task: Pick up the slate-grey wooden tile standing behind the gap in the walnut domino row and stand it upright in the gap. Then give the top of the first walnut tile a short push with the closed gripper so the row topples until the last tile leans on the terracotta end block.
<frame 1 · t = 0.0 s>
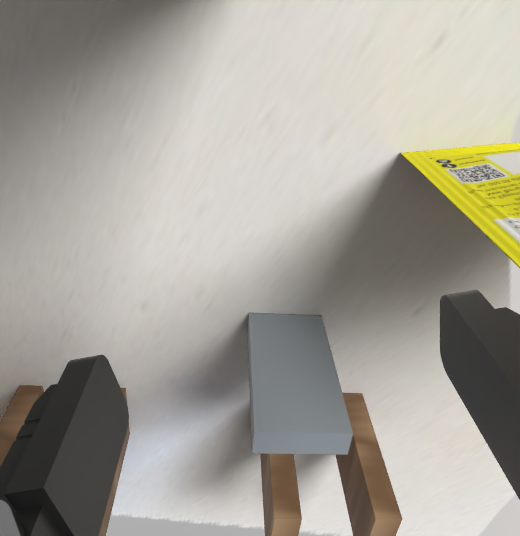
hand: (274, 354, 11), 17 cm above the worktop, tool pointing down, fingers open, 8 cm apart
domino 4: (117, 411, 36), on the worktop
domino 1: (346, 415, 37), on the worktop
domino 5: (36, 409, 35), on the worktop
domino 2: (272, 414, 37), on the worktop
domino 3: (284, 323, 32), on the worktop
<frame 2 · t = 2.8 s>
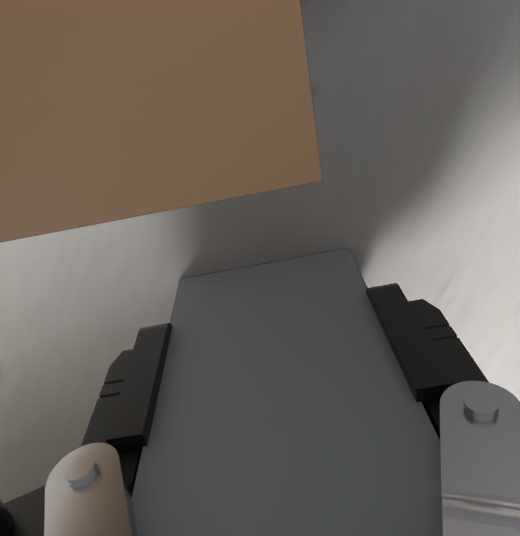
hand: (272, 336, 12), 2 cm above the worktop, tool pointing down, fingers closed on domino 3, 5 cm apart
domino 3: (268, 286, 14), on the worktop, touching gripper
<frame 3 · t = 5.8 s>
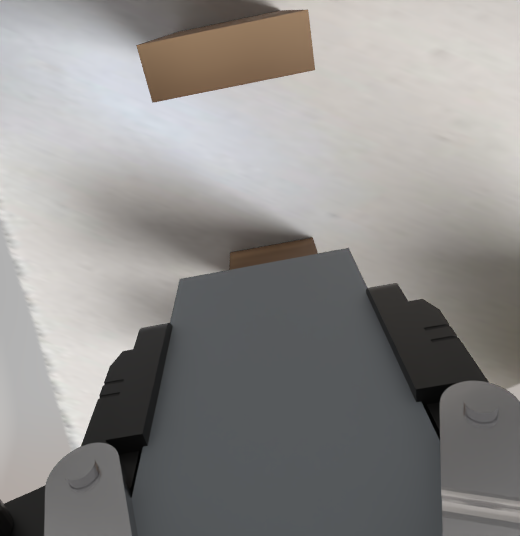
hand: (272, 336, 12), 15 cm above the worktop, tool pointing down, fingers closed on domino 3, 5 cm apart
domino 4: (232, 39, 22), on the worktop
domino 2: (273, 256, 28), on the worktop
domino 3: (268, 286, 14), point 13 cm above the worktop, touching gripper
when the fingers open (3 cm above the worktop, at t = 9.1 s): domino 3 stays where it is, on the worktop.
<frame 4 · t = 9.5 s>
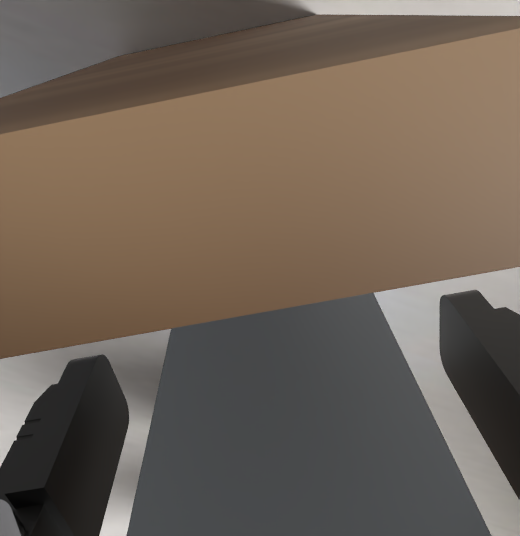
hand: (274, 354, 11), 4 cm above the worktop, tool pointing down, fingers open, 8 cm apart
domino 4: (223, 69, 12), on the worktop
domino 3: (268, 270, 15), on the worktop
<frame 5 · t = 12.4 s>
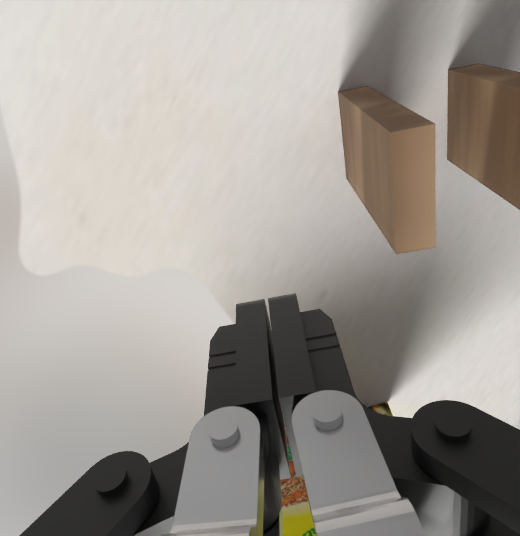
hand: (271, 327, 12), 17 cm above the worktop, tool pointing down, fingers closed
food package: (294, 425, 38), on the worktop
domino 1: (356, 134, 27), on the worktop
domino 2: (461, 113, 26), on the worktop
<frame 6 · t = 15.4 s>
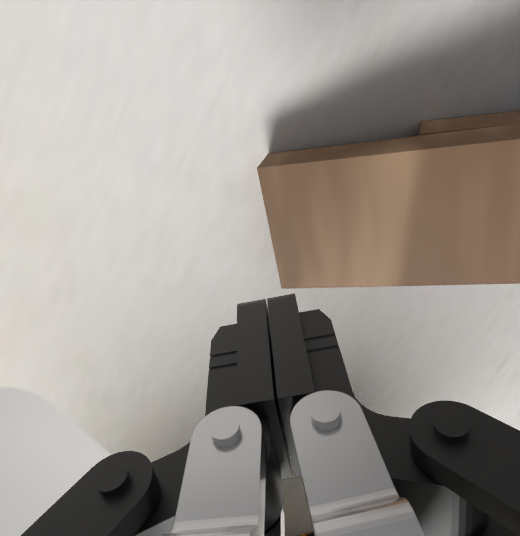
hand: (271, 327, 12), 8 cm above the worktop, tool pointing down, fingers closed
domino 1: (275, 223, 18), point 1 cm above the worktop, tilted 72°, touching domino 2
domino 2: (421, 193, 18), point 1 cm above the worktop, tilted 70°, touching domino 1, domino 3
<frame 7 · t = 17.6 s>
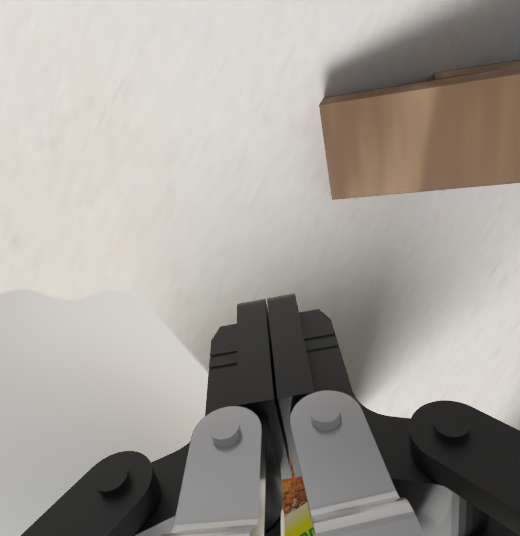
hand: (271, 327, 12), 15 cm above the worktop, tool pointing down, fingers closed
food package: (254, 445, 37), on the worktop
domino 1: (328, 149, 25), point 1 cm above the worktop, tilted 72°, touching domino 2
domino 2: (434, 126, 24), point 1 cm above the worktop, tilted 70°, touching domino 1, domino 3
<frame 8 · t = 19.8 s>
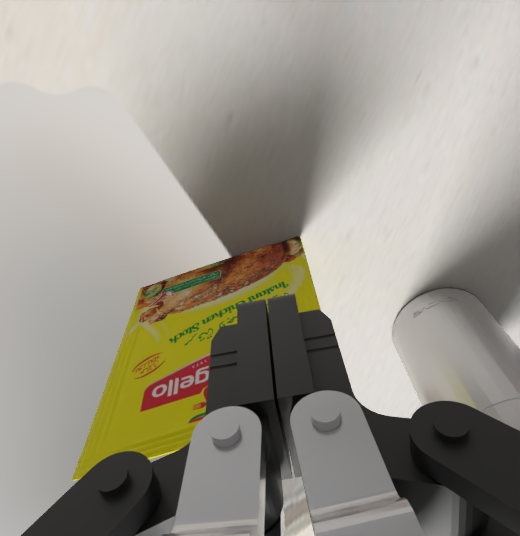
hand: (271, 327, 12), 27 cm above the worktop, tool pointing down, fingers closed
food package: (218, 262, 42), on the worktop
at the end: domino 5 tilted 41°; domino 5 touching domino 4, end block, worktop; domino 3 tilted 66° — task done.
